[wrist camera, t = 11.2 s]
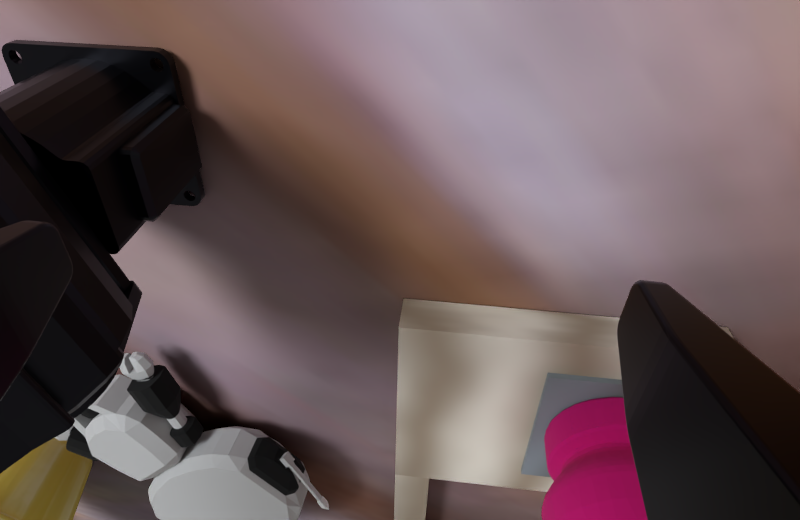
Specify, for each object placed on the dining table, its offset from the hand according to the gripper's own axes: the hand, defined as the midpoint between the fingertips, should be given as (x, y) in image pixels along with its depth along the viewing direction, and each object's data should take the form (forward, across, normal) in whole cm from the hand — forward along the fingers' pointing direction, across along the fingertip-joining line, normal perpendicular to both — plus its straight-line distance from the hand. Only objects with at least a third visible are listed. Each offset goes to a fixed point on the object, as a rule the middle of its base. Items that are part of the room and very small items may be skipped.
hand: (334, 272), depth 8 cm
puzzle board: (+13, -8, +23) cm, 27 cm away
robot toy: (+13, +13, +25) cm, 31 cm away
